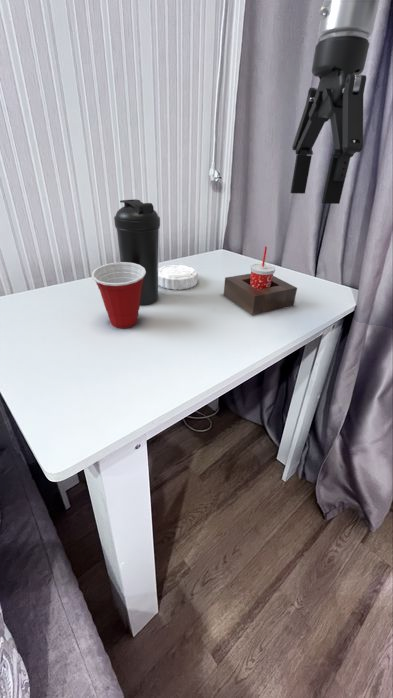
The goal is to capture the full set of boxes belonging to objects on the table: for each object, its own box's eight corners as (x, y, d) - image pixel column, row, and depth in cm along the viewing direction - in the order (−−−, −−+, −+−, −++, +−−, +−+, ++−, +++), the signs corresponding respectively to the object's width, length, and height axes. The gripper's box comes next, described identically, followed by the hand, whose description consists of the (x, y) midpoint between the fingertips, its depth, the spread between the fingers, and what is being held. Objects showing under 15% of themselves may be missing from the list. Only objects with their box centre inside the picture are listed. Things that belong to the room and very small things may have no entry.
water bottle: (146, 287, 91) (142, 196, 79) (169, 299, 85) (169, 203, 72) (113, 296, 85) (103, 199, 73) (136, 310, 79) (129, 207, 66)
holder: (262, 288, 94) (264, 271, 91) (293, 306, 84) (297, 287, 82) (223, 295, 89) (225, 277, 86) (252, 315, 79) (255, 296, 76)
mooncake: (188, 293, 89) (188, 280, 87) (148, 285, 92) (147, 273, 90) (203, 278, 98) (203, 267, 97) (166, 272, 102) (166, 261, 100)
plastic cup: (88, 328, 71) (79, 274, 64) (115, 308, 79) (110, 259, 73) (133, 339, 68) (129, 283, 61) (156, 317, 76) (154, 266, 70)
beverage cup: (255, 307, 83) (263, 251, 75) (241, 298, 87) (247, 244, 80) (274, 303, 86) (284, 248, 78) (259, 294, 90) (267, 242, 82)
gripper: (287, 57, 59) (270, 189, 70) (368, 8, 38) (324, 208, 49) (327, 60, 60) (303, 190, 71) (427, 14, 39) (371, 209, 50)
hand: (312, 198), depth 60 cm, fingers open, 13 cm apart
